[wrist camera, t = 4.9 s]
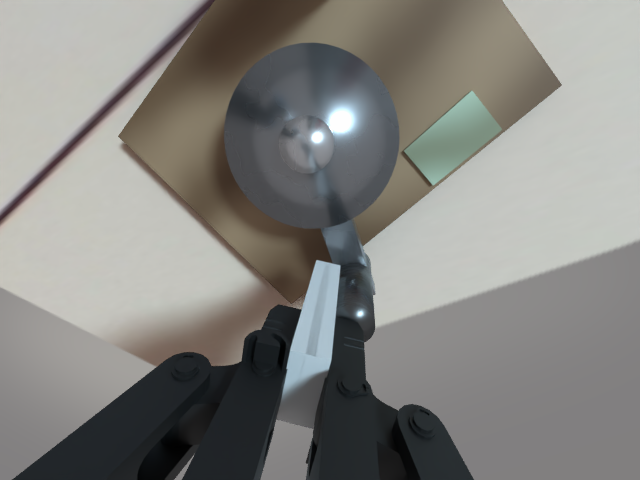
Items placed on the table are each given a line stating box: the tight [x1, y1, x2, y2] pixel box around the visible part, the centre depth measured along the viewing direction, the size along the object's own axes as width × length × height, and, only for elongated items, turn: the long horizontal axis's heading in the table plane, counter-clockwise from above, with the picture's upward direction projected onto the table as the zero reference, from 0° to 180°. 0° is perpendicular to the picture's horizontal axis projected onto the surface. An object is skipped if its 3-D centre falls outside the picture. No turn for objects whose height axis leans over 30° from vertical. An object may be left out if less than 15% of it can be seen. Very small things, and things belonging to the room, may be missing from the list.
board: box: [118, 0, 562, 304], centre depth 13 cm, size 14×18×9 cm
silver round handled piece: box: [224, 43, 400, 342], centre depth 14 cm, size 12×8×6 cm, turn 19°
